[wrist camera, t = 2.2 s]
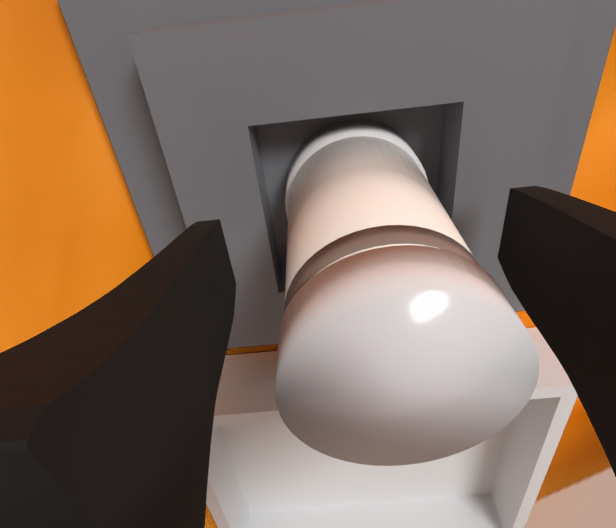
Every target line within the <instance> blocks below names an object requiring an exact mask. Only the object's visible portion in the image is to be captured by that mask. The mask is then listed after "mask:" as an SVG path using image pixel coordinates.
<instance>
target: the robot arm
mask: <svg viewBox="0 0 616 528" xmlns="http://www.w3.org/2000/svg"><path fill="white" fill-rule="evenodd" d="M498 260H499V262H500V265H501V267H502V269H503V272H504V274H505V276H506V278H507V281H508V283H509V285H510V287H511V289H512V291H513V292H514V294H515V295H516V297H517V298H518V300H519V302H520V303H521V305H522V306H523V308H524V309H525V311H526V312H527V314H528V315H529V317H530V318H531V320H532V321H533V323H534V324H535V326H536V327H537V329H538V330H539V332H540V333H541V335H542V336H543V338H544V339H545V341H546V342H547V344H548V345H549V347H550V348H551V350H552V351H553V353H554V354H555V356H556V357H557V359H558V360H559V362H560V364H561V365H562V367H563V369H564V370H565V372H566V374H567V375H568V377H569V379H570V381H571V383H572V385H573V387H574V389H575V391H576V393H577V395H578V397H579V399H580V401H581V403H582V405H583V407H584V409H585V410H586V413H587V415H588V417H589V419H590V421H591V423H592V425H593V427H594V429H595V432H596V434H597V436H598V438H599V440H600V442H601V444H602V446H603V449H604V451H605V453H606V455H607V458H608V460H609V462H610V464H611V467H612V469H613V471H614V474H615V476H616V212H614V211H611V210H608V209H606V208H603V207H600V206H597V205H595V204H592V203H589V202H586V201H583V200H581V199H578V198H575V197H572V196H570V195H567V194H564V193H561V192H558V191H555V190H551V189H548V188H544V187H539V186H528V187H518V188H510V191H509V197H508V202H507V208H506V213H505V219H504V224H503V230H502V235H501V241H500V247H499V252H498ZM235 296H236V281H235V277H234V273H233V269H232V265H231V261H230V257H229V253H228V249H227V245H226V242H225V238H224V234H223V230H222V226H221V222H220V219H217V220H207V221H198V222H195V223H193V224H192V225H191V226H189V227H188V228H187V229H186V230H185V231H183V232H182V233H181V234H180V235H179V236H178V237H176V238H175V239H174V240H173V241H172V242H171V243H170V244H169V245H167V246H166V247H165V248H164V249H163V250H162V251H160V252H159V253H158V254H157V255H156V256H155V257H154V258H152V259H151V260H150V261H149V262H148V263H146V264H145V265H144V266H143V267H141V268H140V269H139V270H138V271H136V272H135V273H134V274H132V275H131V276H130V277H129V278H127V279H126V280H125V281H124V282H122V283H121V284H120V285H118V286H117V287H116V288H114V289H113V290H111V291H110V292H109V293H107V294H106V295H104V296H103V297H101V298H100V299H98V300H97V301H95V302H94V303H92V304H90V305H89V306H87V307H86V308H84V309H83V310H81V311H79V312H78V313H76V314H74V315H73V316H71V317H69V318H67V319H65V320H64V321H62V322H60V323H58V324H56V325H55V326H53V327H51V328H49V329H47V330H46V331H44V332H42V333H40V334H38V335H37V336H35V337H33V338H31V339H29V340H27V341H25V342H23V343H21V344H19V345H17V346H14V347H12V348H10V349H8V350H6V351H4V352H2V353H0V528H204V526H205V511H206V496H207V482H208V471H209V460H210V448H211V438H212V429H213V420H214V410H215V403H216V397H217V392H218V387H219V382H220V378H221V373H222V369H223V364H224V360H225V355H226V351H227V346H228V342H229V337H230V333H231V328H232V323H233V318H234V310H235Z"/></svg>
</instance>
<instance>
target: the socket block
mask: <svg viewBox="0 0 616 528" xmlns="http://www.w3.org/2000/svg"><path fill="white" fill-rule="evenodd" d="M57 1H58V3H59V6H60V8H61V11H62V14H63V16H64V19H65V22H66V24H67V27H68V30H69V32H70V35H71V38H72V40H73V43H74V46H75V48H76V51H77V54H78V56H79V59H80V62H81V64H82V67H83V70H84V72H85V75H86V77H87V80H88V83H89V85H90V88H91V91H92V93H93V96H94V99H95V101H96V104H97V107H98V109H99V112H100V115H101V117H102V120H103V123H104V125H105V128H106V131H107V133H108V136H109V139H110V141H111V144H112V147H113V149H114V152H115V154H116V157H117V160H118V162H119V165H120V168H121V170H122V173H123V176H124V178H125V181H126V184H127V186H128V189H129V192H130V194H131V197H132V200H133V202H134V205H135V208H136V210H137V213H138V216H139V218H140V221H141V223H142V226H143V229H144V231H145V234H146V237H147V239H148V242H149V245H150V247H151V250H152V253H153V255H154V257H155V256H156V255H157V254H158V253H159V252H160V251H162V250H163V249H164V248H165V247H166V246H167V245H169V244H170V243H171V242H172V241H173V240H174V239H175V238H176V237H178V236H179V235H180V234H181V233H182V232H183V231H185V230H186V229H187V228H188V227H189V226H191V225H192V224H193V223H195V222H198V221H207V220H217V219H220V222H221V226H222V230H223V234H224V238H225V242H226V245H227V249H228V253H229V257H230V261H231V265H232V269H233V273H234V277H235V281H236V296H235V310H234V318H233V323H232V328H231V333H230V337H229V342H228V346H227V349H228V348H239V347H250V346H261V345H272V344H278V332H279V326H280V322H281V318H282V316H283V314H284V304H285V284H286V258H287V231H288V219H287V214H286V207H285V196H286V179H287V173H288V169H289V166H290V163H291V161H292V159H293V157H294V155H295V153H296V152H297V150H298V149H299V147H300V146H301V145H302V144H303V143H304V142H305V141H306V140H307V139H308V138H309V137H310V136H311V135H313V134H314V133H315V132H317V131H318V130H320V129H322V128H324V127H326V126H328V125H330V124H333V123H336V122H339V121H344V120H352V119H362V120H370V121H375V122H378V123H381V124H384V125H386V126H388V127H390V128H391V129H393V130H395V131H396V132H397V133H399V134H400V135H401V136H402V137H403V138H404V139H405V140H406V141H407V143H408V144H409V145H410V147H411V148H412V150H413V151H414V153H415V154H416V156H417V158H418V159H419V161H420V162H421V164H422V166H423V168H424V170H425V173H426V176H427V179H428V183H429V184H430V186H431V188H432V189H433V191H434V193H435V194H436V196H437V197H438V199H439V201H440V202H441V204H442V206H443V207H444V209H445V211H446V212H447V214H448V215H449V217H450V219H451V220H452V222H453V224H454V225H455V227H456V229H457V230H458V232H459V233H460V235H461V237H462V238H463V240H464V242H465V243H466V245H467V246H468V248H469V250H470V251H471V253H472V255H473V256H474V258H475V259H476V261H477V262H478V263H479V265H480V267H482V268H483V269H484V270H485V271H486V272H487V273H488V274H490V275H491V276H492V277H493V279H494V280H495V281H496V283H497V284H498V286H499V287H500V288H501V290H502V292H503V293H504V295H505V296H506V298H507V299H508V301H509V303H510V304H511V306H512V307H513V309H514V311H523V310H525V309H524V308H523V306H522V305H521V303H520V302H519V300H518V298H517V297H516V295H515V294H514V292H513V291H512V289H511V287H510V285H509V283H508V281H507V278H506V276H505V274H504V272H503V269H502V267H501V265H500V262H499V260H498V252H499V247H500V241H501V235H502V230H503V224H504V219H505V213H506V208H507V202H508V197H509V191H510V188H518V187H528V186H539V187H544V188H548V189H551V190H555V191H558V192H561V193H564V194H567V195H570V192H571V188H572V185H573V181H574V177H575V174H576V170H577V166H578V162H579V159H580V155H581V151H582V148H583V144H584V140H585V137H586V133H587V129H588V125H589V122H590V118H591V114H592V111H593V107H594V103H595V100H596V96H597V92H598V88H599V85H600V81H601V77H602V74H603V70H604V66H605V63H606V59H607V55H608V51H609V48H610V44H611V40H612V37H613V33H614V29H615V26H616V0H57Z"/></svg>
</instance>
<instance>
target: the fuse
mask: <svg viewBox="0 0 616 528" xmlns="http://www.w3.org/2000/svg"><path fill="white" fill-rule="evenodd" d="M285 207H286V214H287V219H288V231H287V258H286V284H285V304H284V314H283V316H282V318H281V322H280V326H279V332H278V347H277V366H276V385H275V398H276V406H277V408H278V411H279V414H280V417H281V418H282V420H283V422H284V424H285V425H286V426H287V428H288V429H289V430H290V431H291V432H292V434H294V435H295V436H296V437H297V438H298V439H299V440H300V441H302V442H303V443H305V444H306V445H307V446H309V447H310V448H312V449H314V450H316V451H318V452H320V453H322V454H325V455H327V456H330V457H332V458H336V459H339V460H343V461H346V462H352V463H357V464H364V465H373V466H400V465H410V464H418V463H424V462H429V461H434V460H437V459H441V458H445V457H448V456H451V455H454V454H457V453H460V452H462V451H465V450H467V449H469V448H472V447H474V446H476V445H478V444H480V443H482V442H484V441H485V440H487V439H489V438H490V437H492V436H493V435H495V434H496V433H498V432H499V431H501V430H502V429H503V428H504V427H506V426H507V425H508V424H509V423H510V422H511V421H512V420H513V419H514V418H516V417H517V416H518V414H519V413H520V412H521V411H522V410H523V408H524V407H525V406H526V404H527V403H528V401H529V399H530V398H531V396H532V394H533V392H534V390H535V387H536V385H537V381H538V376H539V356H538V352H537V348H536V346H535V344H534V341H533V339H532V337H531V336H530V334H529V333H528V331H527V329H526V328H525V326H524V325H523V323H522V322H521V320H520V318H519V317H518V315H517V314H516V312H515V311H514V309H513V307H512V306H511V304H510V303H509V301H508V299H507V298H506V296H505V295H504V293H503V292H502V290H501V288H500V287H499V286H498V284H497V283H496V281H495V280H494V279H493V277H492V276H491V275H490V274H488V273H487V272H486V271H485V270H484V269H483V268H482V267H480V265H479V263H478V262H477V261H476V259H475V258H474V256H473V255H472V253H471V251H470V250H469V248H468V246H467V245H466V243H465V242H464V240H463V238H462V237H461V235H460V233H459V232H458V230H457V229H456V227H455V225H454V224H453V222H452V220H451V219H450V217H449V215H448V214H447V212H446V211H445V209H444V207H443V206H442V204H441V202H440V201H439V199H438V197H437V196H436V194H435V193H434V191H433V189H432V188H431V186H430V184H429V183H428V179H427V176H426V173H425V170H424V168H423V166H422V164H421V162H420V161H419V159H418V158H417V156H416V154H415V153H414V151H413V150H412V148H411V147H410V145H409V144H408V143H407V141H406V140H405V139H404V138H403V137H402V136H401V135H400V134H399V133H397V132H396V131H395V130H393V129H391V128H390V127H388V126H386V125H384V124H381V123H378V122H375V121H370V120H362V119H352V120H344V121H339V122H336V123H333V124H330V125H328V126H326V127H324V128H322V129H320V130H318V131H317V132H315V133H314V134H313V135H311V136H310V137H309V138H308V139H307V140H306V141H305V142H304V143H303V144H302V145H301V146H300V147H299V149H298V150H297V152H296V153H295V155H294V157H293V159H292V161H291V163H290V166H289V169H288V173H287V179H286V196H285Z"/></svg>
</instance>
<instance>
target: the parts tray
mask: <svg viewBox="0 0 616 528" xmlns="http://www.w3.org/2000/svg"><path fill="white" fill-rule="evenodd" d="M526 329H527V331H528V333H529V334H530V336H531V337H532V339H533V341H534V344H535V346H536V348H537V352H538V356H539V376H538V381H537V385H536V387H535V390H534V392H533V394H532V396H531V398H530V399H529V401H528V403H527V404H526V406H525V407H524V408H523V410H522V411H521V412H520V413H519V414H518V416H517V417H516V418H514V419H513V420H512V421H511V422H510V423H509V424H508V425H507V426H506V427H504V428H503V429H502V430H501V431H499V432H498V433H496V434H495V435H493V436H492V437H490V438H489V439H487V440H485V441H484V442H482V443H480V444H478V445H476V446H474V447H472V448H469V449H467V450H465V451H462V452H460V453H457V454H454V455H451V456H448V457H445V458H441V459H437V460H434V461H429V462H424V463H418V464H410V465H400V466H373V465H364V464H357V463H352V462H346V461H343V460H339V459H336V458H332V457H330V456H327V455H325V454H322V453H320V452H318V451H316V450H314V449H312V448H310V447H309V446H307V445H306V444H305V443H303V442H302V441H300V440H299V439H298V438H297V437H296V436H295V435H294V434H292V432H291V431H290V430H289V429H288V428H287V426H286V425H285V424H284V422H283V420H282V418H281V417H280V414H279V411H278V408H277V406H276V398H275V385H276V366H277V351H270V352H259V353H247V354H236V355H225V360H224V364H223V369H222V373H221V378H220V382H219V387H218V392H217V397H216V403H215V410H214V420H213V429H212V438H211V448H210V460H209V471H208V482H207V496H206V504H207V506H208V509H209V511H210V513H211V515H212V517H213V519H214V521H215V523H216V525H217V527H218V528H525V526H526V523H527V521H528V518H529V516H530V513H531V511H532V508H533V506H534V503H535V501H536V498H537V496H538V493H539V491H540V488H541V486H542V483H543V481H544V478H545V476H546V473H547V471H548V468H549V466H550V463H551V461H552V458H553V456H554V453H555V451H556V448H557V446H558V443H559V441H560V438H561V436H562V433H563V431H564V428H565V426H566V423H567V421H568V418H569V416H570V413H571V411H572V408H573V406H574V403H575V401H576V398H577V396H578V395H577V393H576V391H575V389H574V387H573V385H572V383H571V381H570V379H569V377H568V375H567V374H566V372H565V370H564V369H563V367H562V365H561V364H560V362H559V360H558V359H557V357H556V356H555V354H554V353H553V351H552V350H551V348H550V347H549V345H548V344H547V342H546V341H545V339H544V338H543V336H542V335H541V333H540V332H539V330H538V329H537V327H534V328H526Z"/></svg>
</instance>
